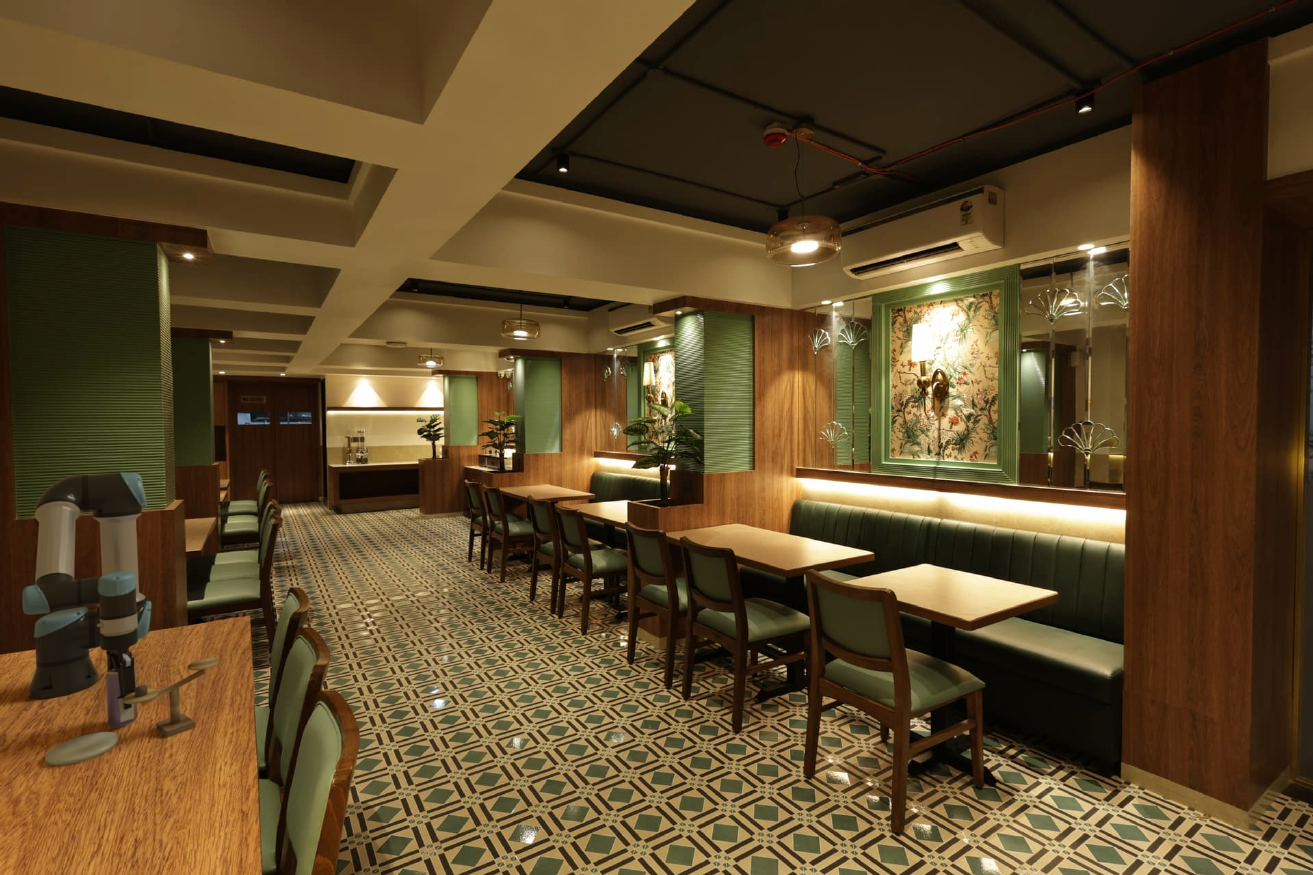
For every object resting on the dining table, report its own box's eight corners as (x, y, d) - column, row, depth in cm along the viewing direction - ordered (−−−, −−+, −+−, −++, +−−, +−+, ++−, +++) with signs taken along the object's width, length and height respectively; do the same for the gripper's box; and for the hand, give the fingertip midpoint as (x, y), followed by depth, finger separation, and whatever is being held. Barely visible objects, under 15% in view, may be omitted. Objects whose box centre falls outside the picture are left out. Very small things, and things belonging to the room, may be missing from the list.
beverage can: (120, 729, 160) (117, 673, 159) (102, 727, 161) (99, 672, 160) (143, 718, 165) (141, 664, 165) (125, 716, 167) (123, 662, 166)
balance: (120, 740, 154) (117, 682, 154) (214, 707, 171) (212, 655, 170) (130, 750, 150) (128, 690, 149) (226, 715, 167) (224, 661, 166)
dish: (39, 754, 148) (38, 749, 148) (108, 731, 159) (108, 726, 159) (52, 771, 141) (52, 766, 141) (125, 746, 151) (124, 741, 151)
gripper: (89, 628, 165) (93, 711, 165) (112, 643, 154) (116, 732, 154) (125, 620, 171) (128, 701, 172) (149, 634, 160) (152, 720, 161)
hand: (122, 715), depth 163 cm, fingers open, 6 cm apart
